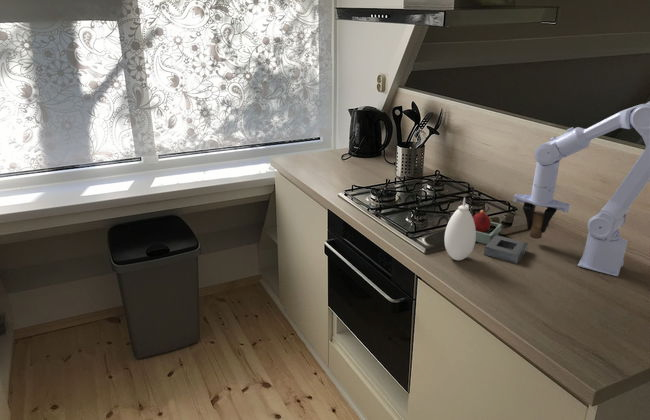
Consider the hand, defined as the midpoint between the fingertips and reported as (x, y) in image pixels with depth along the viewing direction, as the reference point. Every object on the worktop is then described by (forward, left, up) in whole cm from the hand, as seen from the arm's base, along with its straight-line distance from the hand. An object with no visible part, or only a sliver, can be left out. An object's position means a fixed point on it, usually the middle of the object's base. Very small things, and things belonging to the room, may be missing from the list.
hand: (536, 229), depth 145 cm
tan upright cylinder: (0, 0, -2) cm, 2 cm away
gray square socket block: (+5, +10, -5) cm, 12 cm away
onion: (+15, +3, -5) cm, 16 cm away
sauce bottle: (+15, +21, -5) cm, 26 cm away
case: (+15, +3, -5) cm, 16 cm away
